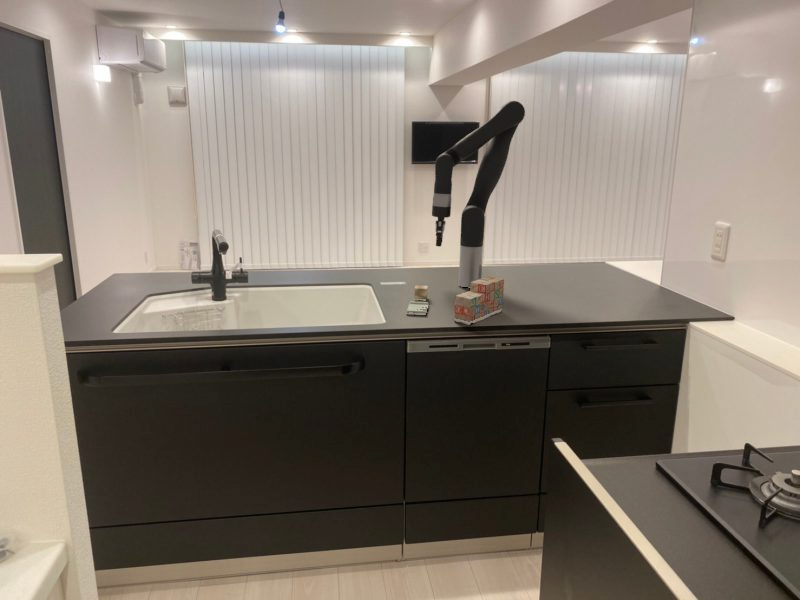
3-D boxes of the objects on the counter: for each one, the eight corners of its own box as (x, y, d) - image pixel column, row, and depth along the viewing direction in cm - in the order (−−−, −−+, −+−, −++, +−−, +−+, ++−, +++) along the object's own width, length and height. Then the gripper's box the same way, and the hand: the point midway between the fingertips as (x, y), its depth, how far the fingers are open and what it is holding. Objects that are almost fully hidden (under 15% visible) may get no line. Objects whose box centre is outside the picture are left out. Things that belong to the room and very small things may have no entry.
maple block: (427, 298, 226) (427, 285, 225) (426, 301, 222) (426, 288, 221) (415, 297, 227) (415, 285, 226) (414, 301, 223) (414, 288, 221)
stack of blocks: (469, 326, 194) (471, 289, 191) (453, 322, 198) (455, 286, 195) (502, 312, 210) (504, 278, 207) (487, 308, 214) (489, 275, 211)
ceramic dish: (428, 306, 216) (428, 302, 215) (426, 315, 204) (426, 311, 204) (409, 305, 216) (409, 301, 216) (406, 314, 205) (406, 310, 204)
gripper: (450, 207, 231) (447, 248, 235) (451, 203, 244) (448, 242, 249) (431, 206, 231) (428, 246, 236) (433, 202, 245) (430, 240, 249)
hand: (439, 244), depth 242 cm, fingers open, 8 cm apart
